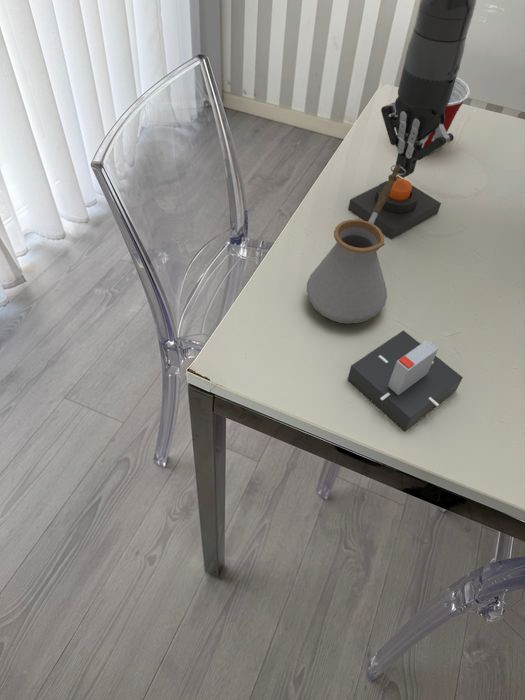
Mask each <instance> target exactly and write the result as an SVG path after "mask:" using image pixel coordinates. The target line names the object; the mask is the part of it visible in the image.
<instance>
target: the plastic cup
mask: <svg viewBox="0 0 525 700" xmlns="http://www.w3.org/2000/svg"><path fill="white" fill-rule="evenodd" d="M470 93H471V89H470V87H469V85H468V84H467V83H466V82H465V81H464V80H463V79H462V78H459V77H456V80H455V84H454V87H453V90H452V94H451V97H450V100H449V103H448V105H447V107H446V109H445V122H444V124H443V125H444V128H445V130H446V132H447V133H448V131H449V129H450V127H451V126H452V123H453V121H454V120H455V116H456V115H457V113H458V112H459V110H460V108H461V106H462V105H463V103H464V102H465V101H466V100H468V98H469V96H470ZM434 135H435V131H434V132H433V133H432V134H430V135H429V137H428V139H427V141H426V142H425V143H424V146H423V148H424V147H426V146H427V145H429V144H430V143H432V138H433V136H434Z"/></svg>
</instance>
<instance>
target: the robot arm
mask: <svg viewBox="0 0 525 700" xmlns="http://www.w3.org/2000/svg"><path fill="white" fill-rule="evenodd" d="M476 4H477V0H419V4H418V9H417V13H416V16H415V22H414V26H413V30H412V33H411V36H410V39H409V42H408V45H407V50H406V53H405V58H404V63H403V65H402V66H403V67H402V72H401V75H400V80H399V85H398V89H397V97H396V99H395V101H394V102H391V103H389V104H386V105H384V106H382V107H381V108H380V109H381V110H380V111H381V115H382V118H383V122H384V126H385V130H386V133H387V137H388V140H389V143H390V145H391V146H395V147H396V148H397V149H396V150H397V157H396V161H395V165H397V164H399V165H400V166H401V167H403V168H404V169H405V170H406V173H405V171H404V170H403V169H401V168H400V171H399V174H404V173H405V175H398V177H400V178H401V179H404V178H406V177H408V176H410V175H411V174H413V173H414V172H415V169H416V165H417V162H418V161H421V160H422V159H424V158H426V157H429V156H430V155H432V154H434V153H435V152H437V151H438V150H440V149H442V148H443V147H445V146H446V145H448V144H450V143H451V142H452V141H454V138H455V137H454V134H453V133H451V132H448V131H447V132H446V130H445V128H444V125H443V124H444V122H445V109H446V107H447V105H448V103H449V100H450V97H451V94H452V90H453V87H454V84H455V80H456V77H457V76H458V73H459V71H460V67H461V63H462V60H463V57H464V53H465V52H464V51H465V46H466V40H467V36H468V33H469V29H470V25H471V23H472V20H473V15H474V12H475V8H476ZM457 78H458V77H457ZM434 131H435V135H434V136H433V138H432V143H430V144H429V145H427V146H426V147H424V148H423V146H424V143H425V142H426V141H427V139H428V137H429V135H430V134H432V133H433V132H434Z"/></svg>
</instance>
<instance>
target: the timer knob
mask: <svg viewBox="0 0 525 700" xmlns="http://www.w3.org/2000/svg"><path fill="white" fill-rule="evenodd" d="M438 351H439V348H438V347H437V346H436V345H434V343H432V342H431V341H430V340H428V339H426V340H424V341H423V342H422V343H420V345H419V346H417V347H416V348H415V349H413V350H412V351H410V352H409V353H408V354H406V355H405V356H403V357H402V358H400V359H399V360H398V361H397V362H396V365H395V367H394V370H393V373H392V376H391V379H390V381H389V384H388V387H389V388H390V389H392V390H393V391H394V392H395V393H396V394H397V395H400V394H401V393H402V392H404V391H405V390H406V389H408V388H409V387H410V386H412V385H413V384H414V383H416V382H417V381H418V380H420V379H421V378H423V377H424V376H425V375H427V374H428V371H429V369H430V367H431V364H432V362H433V360H434V358H435V356H437V353H438Z"/></svg>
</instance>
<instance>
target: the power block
mask: <svg viewBox="0 0 525 700" xmlns="http://www.w3.org/2000/svg"><path fill="white" fill-rule="evenodd" d="M396 177H397V178H401V176H399V175H397V176H396ZM387 182H388V180H386V181H383V182H382V183H379V184H378V185H376V186H374V187H372V188H370V189H368V190H365V191H364V192H362V193H360V194H358V195H356V196H354V197H352V198H351V199H349V203H348V209H347V210H348V211H349V212H351V213H352V214H354V215H355V216H356V217H357V218H359V219H360V220H364V221H369V219H370V217H371V215H372V212H373V210H374V208H375V205H376V203H377V200H378V198H379V196H380V193H381V191H382V189H383V187H384V186H385V185H386V183H387ZM411 185H412V190H411V193H410V197H409V198H408V199H407V200H401V201H398V200H394V199H391V198H390V197H388V198H387V200H386V202H385V204H384V205H383V207H382V209H381V211H380V213H379V214H378V215H377V217H376V220H375V222H374V225H375V226H377V227H378V228H379V229H380V230H381V232H382V234H383V236H385V237H386V238H388V239H389V240H393V239H395V238H396V237H398V236H400V235H402V234H404V233H406V232H407V231H410V230H411V229H412V228H414V227H417V226H418V225H420V224H421V223H423V222H425V221H428V220H429V219H431V218H432V217H434V216H436V215H438V213H439V211H440V207H441V205H442V203H441V202H440V201H439V200H437V199H435V198H434V197H432V196H430V195H428V193H426V192H424V191H422V190H421V189H419V188H418V187H416V186H414V185H413V184H411Z"/></svg>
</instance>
